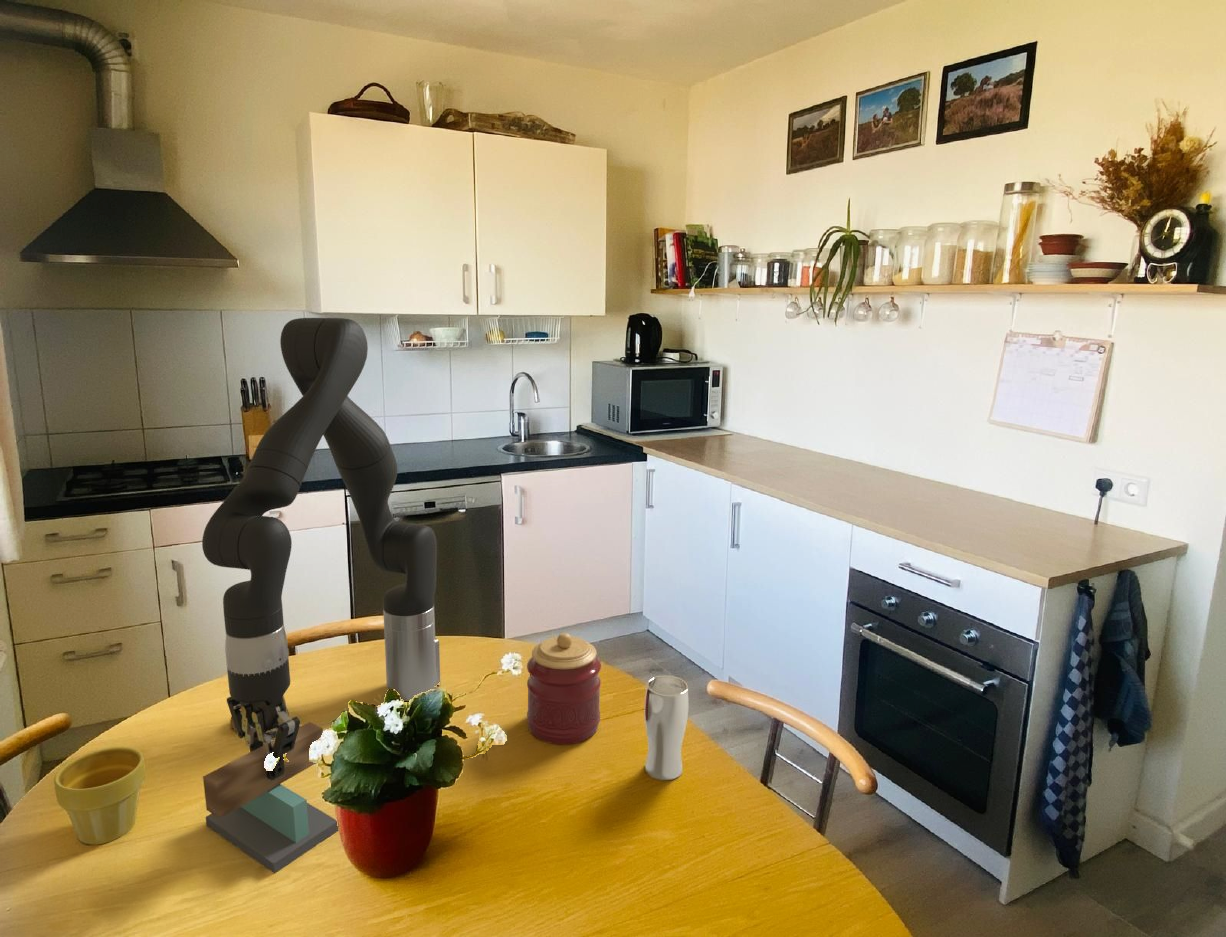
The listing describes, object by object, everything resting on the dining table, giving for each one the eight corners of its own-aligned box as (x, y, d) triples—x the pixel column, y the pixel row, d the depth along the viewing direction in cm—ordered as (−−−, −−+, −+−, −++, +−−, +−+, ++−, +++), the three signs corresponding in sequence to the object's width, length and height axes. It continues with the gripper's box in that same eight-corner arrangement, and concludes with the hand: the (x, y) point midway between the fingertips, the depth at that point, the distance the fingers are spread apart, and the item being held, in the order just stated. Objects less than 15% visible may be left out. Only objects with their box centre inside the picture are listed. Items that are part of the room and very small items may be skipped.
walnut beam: (311, 751, 113) (309, 721, 112) (324, 758, 112) (322, 728, 111) (206, 809, 100) (202, 776, 99) (219, 818, 99) (215, 784, 97)
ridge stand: (270, 789, 116) (267, 748, 114) (338, 830, 107) (335, 786, 106) (206, 825, 108) (201, 782, 106) (274, 873, 99) (270, 827, 98)
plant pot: (157, 798, 113) (150, 739, 111) (143, 844, 104) (134, 781, 102) (75, 813, 110) (66, 753, 107) (53, 862, 100) (42, 797, 98)
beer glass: (662, 788, 118) (666, 701, 115) (633, 766, 124) (636, 682, 120) (694, 771, 123) (698, 687, 119) (664, 751, 128) (668, 670, 125)
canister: (598, 747, 129) (600, 652, 125) (522, 745, 129) (521, 649, 125) (601, 707, 141) (603, 619, 137) (531, 704, 142) (531, 617, 138)
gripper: (315, 662, 101) (323, 776, 105) (253, 635, 109) (262, 742, 112) (263, 685, 95) (273, 805, 99) (201, 654, 102) (213, 767, 106)
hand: (267, 771), depth 106 cm, fingers closed on walnut beam, 3 cm apart
